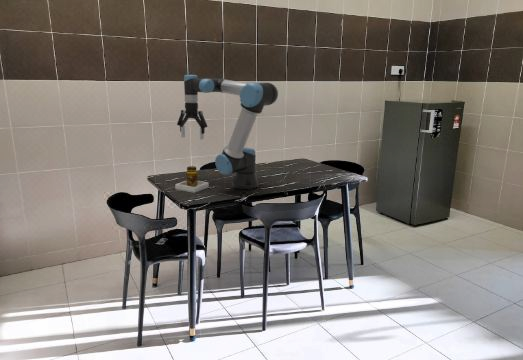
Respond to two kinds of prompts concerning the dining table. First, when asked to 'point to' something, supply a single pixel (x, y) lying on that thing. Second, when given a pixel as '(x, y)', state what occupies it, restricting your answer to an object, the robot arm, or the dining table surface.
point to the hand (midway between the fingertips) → (192, 138)
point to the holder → (198, 188)
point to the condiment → (191, 176)
